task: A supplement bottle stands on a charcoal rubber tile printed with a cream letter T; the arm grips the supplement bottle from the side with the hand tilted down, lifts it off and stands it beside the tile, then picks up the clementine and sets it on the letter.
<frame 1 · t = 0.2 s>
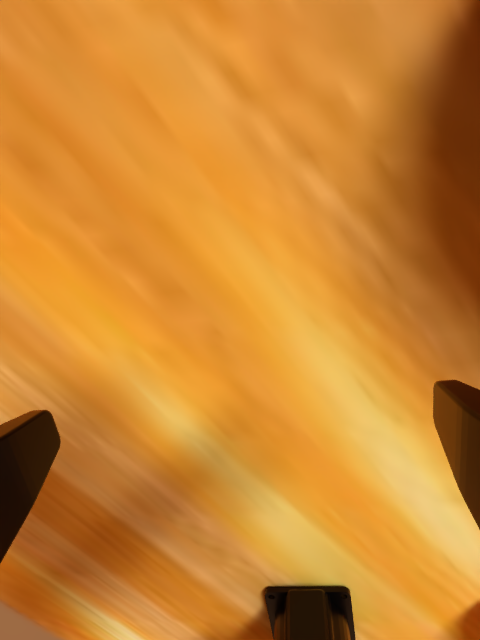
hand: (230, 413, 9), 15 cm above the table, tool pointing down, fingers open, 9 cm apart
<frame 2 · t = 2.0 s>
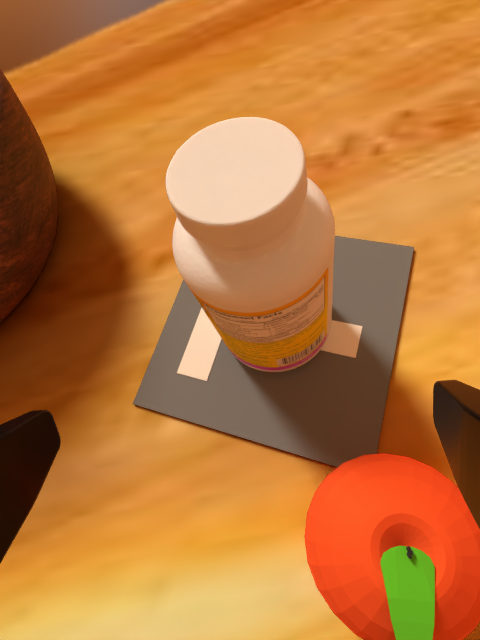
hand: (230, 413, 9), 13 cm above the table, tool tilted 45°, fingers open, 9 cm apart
supplement bottle: (275, 325, 25), resting on letter tile
clementine: (381, 549, 19), on the table
letter tile: (276, 325, 25), on the table
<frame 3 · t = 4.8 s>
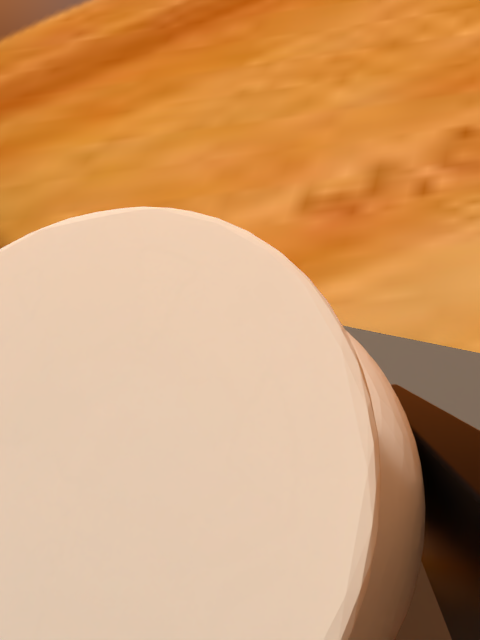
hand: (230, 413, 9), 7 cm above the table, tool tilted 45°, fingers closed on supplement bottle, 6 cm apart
supplement bottle: (270, 490, 15), resting on letter tile, touching gripper
letter tile: (270, 490, 15), on the table
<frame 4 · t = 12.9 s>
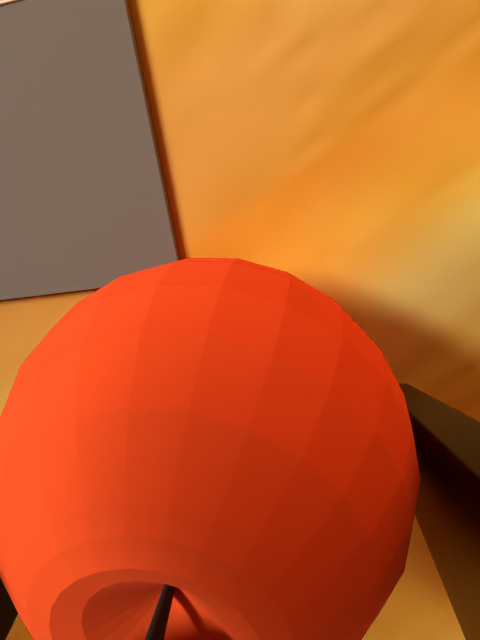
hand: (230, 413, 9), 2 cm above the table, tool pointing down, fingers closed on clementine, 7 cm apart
clementine: (244, 377, 11), on the table, touching gripper
when the fingers open (3 cm above the table, at t = 17.2 s): clementine drops 1 cm, resting on letter tile.
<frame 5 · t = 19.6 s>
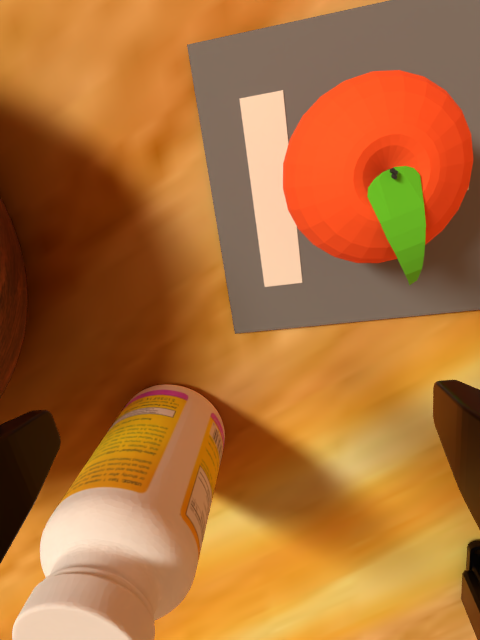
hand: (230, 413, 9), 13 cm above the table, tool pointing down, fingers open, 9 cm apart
supplement bottle: (176, 424, 26), on the table
clementine: (360, 184, 19), resting on letter tile
letter tile: (355, 184, 19), on the table
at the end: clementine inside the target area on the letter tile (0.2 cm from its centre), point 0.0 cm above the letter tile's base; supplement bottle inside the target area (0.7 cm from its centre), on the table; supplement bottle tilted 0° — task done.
